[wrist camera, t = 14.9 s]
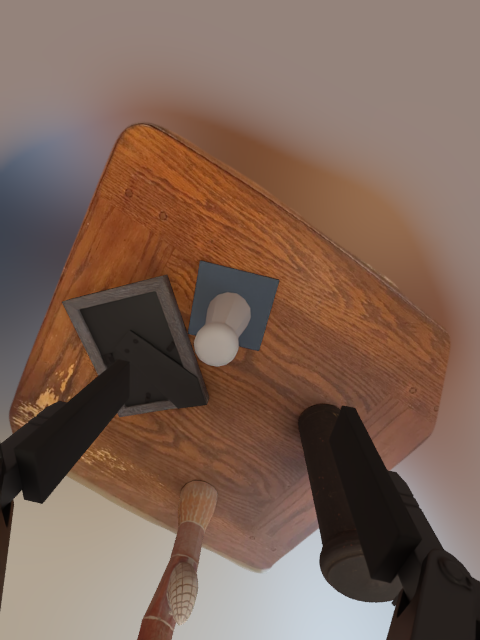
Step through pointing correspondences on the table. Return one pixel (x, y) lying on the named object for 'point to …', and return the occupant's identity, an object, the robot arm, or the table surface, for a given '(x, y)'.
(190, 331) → the mat
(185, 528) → the vase
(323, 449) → the container
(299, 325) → the table surface
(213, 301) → the salt shaker
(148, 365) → the picture frame
